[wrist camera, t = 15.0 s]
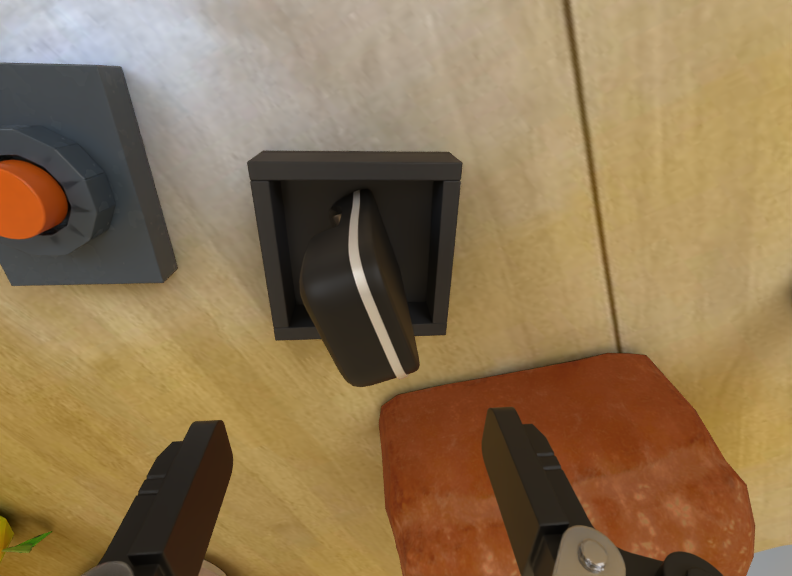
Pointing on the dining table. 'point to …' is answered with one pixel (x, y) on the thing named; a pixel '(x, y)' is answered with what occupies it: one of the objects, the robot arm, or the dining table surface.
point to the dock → (400, 211)
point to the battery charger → (359, 295)
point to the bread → (563, 467)
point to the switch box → (83, 177)
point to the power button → (29, 200)
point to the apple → (3, 535)
